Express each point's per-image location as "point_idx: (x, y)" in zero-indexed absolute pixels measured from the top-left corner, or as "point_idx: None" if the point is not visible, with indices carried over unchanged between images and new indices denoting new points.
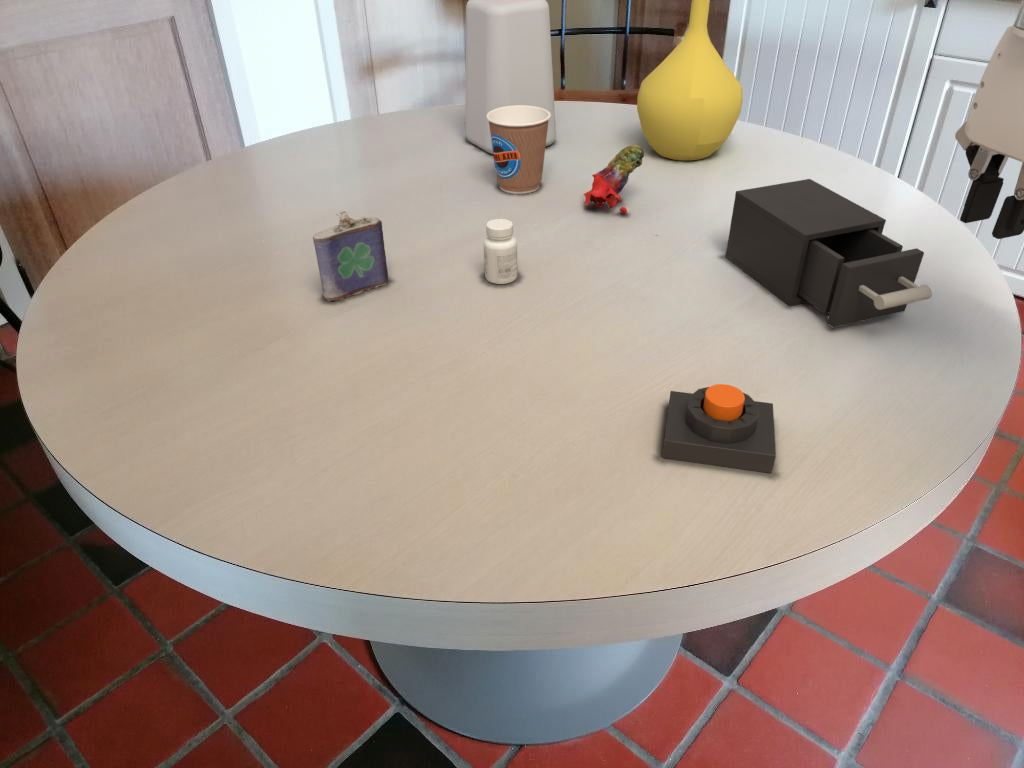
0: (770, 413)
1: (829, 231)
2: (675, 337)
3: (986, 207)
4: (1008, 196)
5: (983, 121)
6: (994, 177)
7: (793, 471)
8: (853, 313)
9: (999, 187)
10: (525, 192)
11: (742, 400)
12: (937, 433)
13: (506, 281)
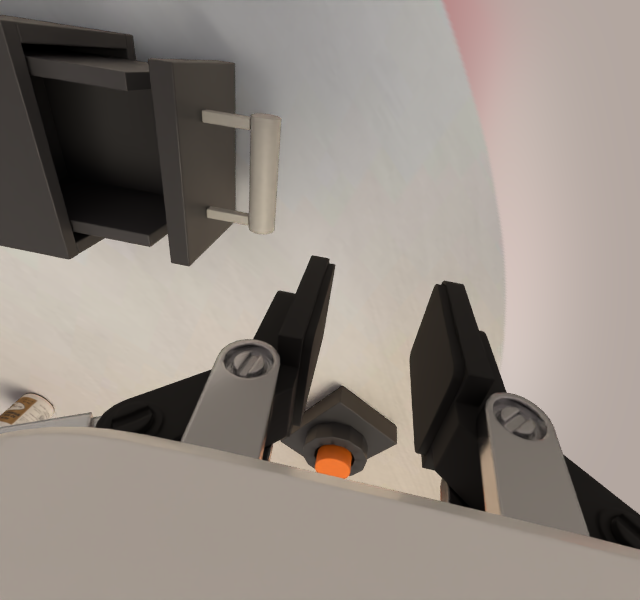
0: (350, 412)
1: (55, 205)
2: (185, 358)
3: (324, 315)
4: (425, 464)
5: None
6: (293, 396)
7: (405, 414)
8: (228, 194)
9: (315, 336)
10: None
11: (346, 466)
12: (463, 282)
13: (51, 410)
